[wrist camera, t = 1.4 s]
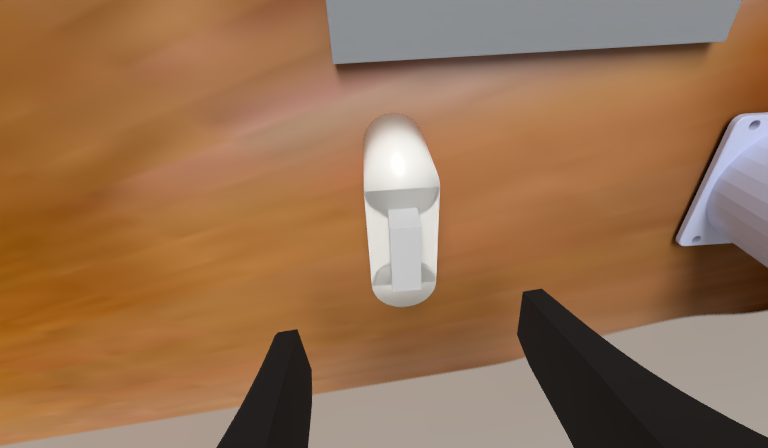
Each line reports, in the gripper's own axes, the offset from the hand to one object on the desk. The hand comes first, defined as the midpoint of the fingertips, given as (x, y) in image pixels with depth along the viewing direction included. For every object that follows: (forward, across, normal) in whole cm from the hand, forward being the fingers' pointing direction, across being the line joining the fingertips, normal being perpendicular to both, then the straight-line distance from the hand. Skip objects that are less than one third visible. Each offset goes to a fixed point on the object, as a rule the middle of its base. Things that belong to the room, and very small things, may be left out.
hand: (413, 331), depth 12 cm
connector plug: (+10, -1, 0) cm, 10 cm away
